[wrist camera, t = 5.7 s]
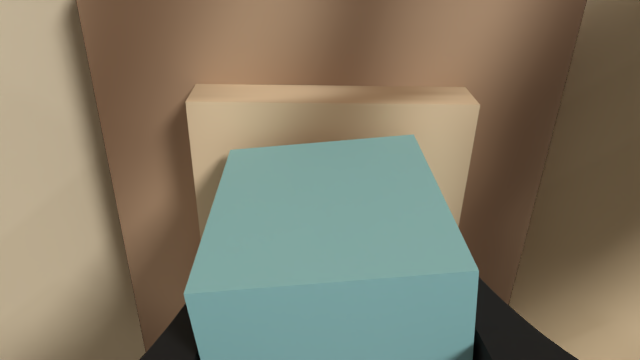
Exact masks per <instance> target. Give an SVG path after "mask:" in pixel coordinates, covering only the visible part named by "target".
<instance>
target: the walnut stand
mask: <svg viewBox="0 0 640 360" xmlns="http://www.w3.org/2000/svg"><path fill="white" fill-rule="evenodd" d="M586 2H587V0H76V3H77V8H78V13H79V18H80V23H81V28H82V33H83V38H84V43H85V48H86V53H87V58H88V63H89V68H90V73H91V78H92V83H93V88H94V93H95V98H96V104H97V109H98V114H99V119H100V124H101V129H102V134H103V139H104V144H105V149H106V154H107V159H108V164H109V169H110V174H111V179H112V184H113V189H114V194H115V199H116V205H117V210H118V215H119V220H120V225H121V230H122V235H123V240H124V245H125V250H126V255H127V260H128V265H129V270H130V275H131V280H132V285H133V290H134V295H135V300H136V306H137V311H138V316H139V321H140V326H141V331H142V336H143V341H144V346H145V351H146V352H147V351H148V350H149V348H150V347H151V346H152V345H153V344H154V342H155V341H156V340H157V339H158V338H159V337H160V335H161V334H162V333H163V332H164V331H165V329H166V328H167V327H168V326H169V324H170V323H171V322H172V320H173V319H174V318H175V316H176V315H177V314H178V312H179V311H180V310H181V308H182V307H183V306H184V304H185V303H186V302H185V298H184V291H185V288H186V285H187V282H188V279H189V276H190V273H191V270H192V266H193V263H194V260H195V257H196V254H197V251H198V248H199V245H200V242H201V239H202V236H203V233H204V229H205V226H206V223H207V220H208V217H209V214H210V211H211V208H212V205H213V202H214V199H215V195H216V192H217V189H218V186H219V183H220V180H221V177H222V174H223V171H224V168H225V165H226V162H227V158H228V155H229V152H230V150H234V149H246V148H258V147H270V146H282V145H294V144H306V143H318V142H329V141H341V140H353V139H365V138H377V137H389V136H401V135H413V134H414V136H415V138H416V140H417V142H418V144H419V146H420V149H421V151H422V153H423V155H424V157H425V159H426V161H427V163H428V165H429V167H430V169H431V171H432V174H433V176H434V178H435V180H436V182H437V184H438V186H439V188H440V190H441V192H442V194H443V197H444V199H445V201H446V203H447V205H448V207H449V209H450V211H451V213H452V215H453V217H454V219H455V222H456V224H457V226H458V228H459V230H460V232H461V234H462V236H463V238H464V240H465V242H466V244H467V247H468V249H469V251H470V253H471V255H472V257H473V259H474V261H475V263H476V265H477V267H478V269H479V277H480V278H481V279H482V280H483V281H484V282H485V283H486V284H487V285H488V286H489V287H490V288H491V289H492V290H493V291H494V292H495V293H496V294H497V295H498V296H499V297H500V298H501V299H502V300H503V301H504V302H505V303H507V304H508V305H509V301H510V298H511V294H512V290H513V286H514V282H515V278H516V274H517V270H518V266H519V263H520V259H521V255H522V251H523V247H524V243H525V239H526V235H527V231H528V227H529V224H530V220H531V216H532V212H533V208H534V204H535V200H536V196H537V192H538V189H539V185H540V181H541V177H542V173H543V169H544V165H545V161H546V157H547V153H548V150H549V146H550V142H551V138H552V134H553V130H554V126H555V122H556V118H557V115H558V111H559V107H560V103H561V99H562V95H563V91H564V87H565V83H566V80H567V76H568V72H569V68H570V64H571V60H572V56H573V52H574V48H575V44H576V41H577V37H578V33H579V29H580V25H581V21H582V17H583V13H584V9H585V6H586Z"/></svg>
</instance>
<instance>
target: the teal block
mask: <svg viewBox="0 0 640 360" xmlns="http://www.w3.org/2000/svg"><path fill="white" fill-rule="evenodd" d="M478 279H479V269H478V267H477V265H476V263H475V261H474V259H473V257H472V255H471V253H470V251H469V249H468V247H467V244H466V242H465V240H464V238H463V236H462V234H461V232H460V230H459V228H458V226H457V224H456V222H455V219H454V217H453V215H452V213H451V211H450V209H449V207H448V205H447V203H446V201H445V199H444V197H443V194H442V192H441V190H440V188H439V186H438V184H437V182H436V180H435V178H434V176H433V174H432V171H431V169H430V167H429V165H428V163H427V161H426V159H425V157H424V155H423V153H422V151H421V149H420V146H419V144H418V142H417V140H416V138H415V136H414V134H413V135H401V136H389V137H377V138H365V139H353V140H341V141H329V142H318V143H306V144H294V145H282V146H270V147H258V148H246V149H234V150H230V152H229V155H228V158H227V162H226V165H225V168H224V171H223V174H222V177H221V180H220V183H219V186H218V189H217V192H216V195H215V199H214V202H213V205H212V208H211V211H210V214H209V217H208V220H207V223H206V226H205V229H204V233H203V236H202V239H201V242H200V245H199V248H198V251H197V254H196V257H195V260H194V263H193V266H192V270H191V273H190V276H189V279H188V282H187V285H186V288H185V291H184V298H185V302H186V306H187V310H188V313H189V317H190V321H191V325H192V329H193V333H194V337H195V340H196V344H197V348H198V352H199V356H200V360H473V346H474V333H475V319H476V306H477V292H478Z"/></svg>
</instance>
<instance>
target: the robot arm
mask: <svg viewBox="0 0 640 360" xmlns="http://www.w3.org/2000/svg"><path fill="white" fill-rule="evenodd" d="M140 360H200V356H199V352H198V348H197V344H196V340H195V337H194V333H193V329H192V325H191V321H190V317H189V313H188V310H187V306H186V303H185V304H184V306H183V307H182V308H181V310H180V311H179V312H178V314H177V315H176V316H175V318H174V319H173V320H172V322H171V323H170V324H169V326H168V327H167V328H166V329H165V331H164V332H163V333H162V334H161V335H160V337H159V338H158V339H157V340H156V341H155V342H154V344H153V345H152V346H151V347H150V348H149V350H148V351H147V352H146V353H145V354H144V355H143V356H142V357H141V359H140ZM473 360H578V359H577V358H575V357H574V356H572V355H571V354H569V353H568V352H566V351H565V350H563V349H562V348H561V347H559V346H558V345H557V344H555V343H554V342H552V341H551V340H550V339H548V338H547V337H546V336H544V335H543V334H542V333H540V332H539V331H538V330H537V329H535V328H534V327H533V326H532V325H530V324H529V323H528V322H527V321H526V320H525V319H523V318H522V317H521V316H520V315H519V314H518V313H516V312H515V311H514V310H513V309H512V308H511V307H510V306H509V305H508V304H507V303H505V302H504V301H503V300H502V299H501V298H500V297H499V296H498V295H497V294H496V293H495V292H494V291H493V290H492V289H491V288H490V287H489V286H488V285H487V284H486V283H485V282H484V281H483V280H482V279H481V278H480V277H479V279H478V292H477V306H476V319H475V333H474V346H473Z"/></svg>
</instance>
